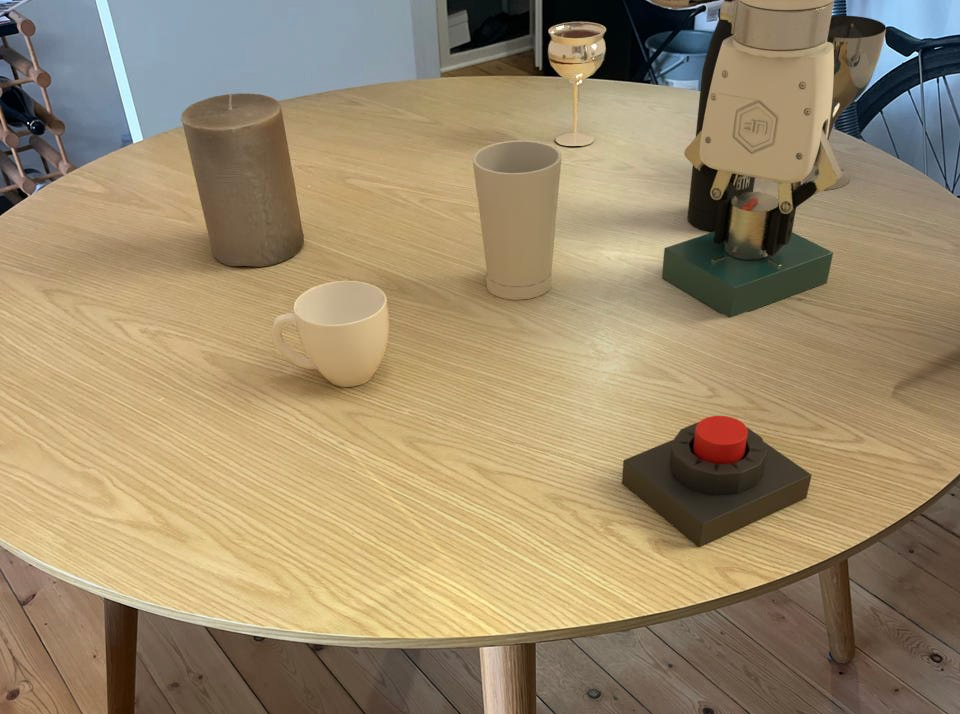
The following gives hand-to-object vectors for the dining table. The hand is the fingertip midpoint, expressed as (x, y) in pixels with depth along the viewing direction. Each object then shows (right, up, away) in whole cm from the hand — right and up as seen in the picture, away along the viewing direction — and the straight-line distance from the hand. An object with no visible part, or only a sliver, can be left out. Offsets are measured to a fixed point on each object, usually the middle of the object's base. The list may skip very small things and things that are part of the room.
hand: (749, 242), depth 96 cm
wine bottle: (0, +7, +13) cm, 14 cm away
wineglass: (-14, +24, +30) cm, 41 cm away
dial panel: (0, -3, +3) cm, 4 cm away
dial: (0, -1, 0) cm, 1 cm away
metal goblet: (+13, +15, +19) cm, 27 cm away
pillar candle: (-49, +4, +12) cm, 50 cm away
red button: (-8, -24, -23) cm, 34 cm away
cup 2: (-21, -3, +4) cm, 22 cm away
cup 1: (-38, -14, -6) cm, 41 cm away
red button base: (-8, -26, -20) cm, 34 cm away
